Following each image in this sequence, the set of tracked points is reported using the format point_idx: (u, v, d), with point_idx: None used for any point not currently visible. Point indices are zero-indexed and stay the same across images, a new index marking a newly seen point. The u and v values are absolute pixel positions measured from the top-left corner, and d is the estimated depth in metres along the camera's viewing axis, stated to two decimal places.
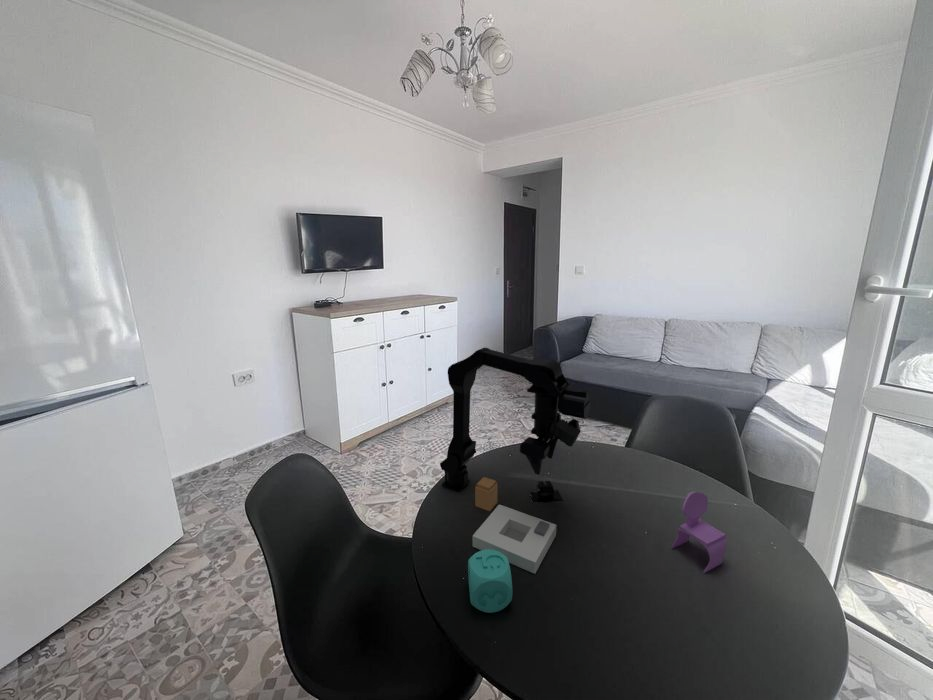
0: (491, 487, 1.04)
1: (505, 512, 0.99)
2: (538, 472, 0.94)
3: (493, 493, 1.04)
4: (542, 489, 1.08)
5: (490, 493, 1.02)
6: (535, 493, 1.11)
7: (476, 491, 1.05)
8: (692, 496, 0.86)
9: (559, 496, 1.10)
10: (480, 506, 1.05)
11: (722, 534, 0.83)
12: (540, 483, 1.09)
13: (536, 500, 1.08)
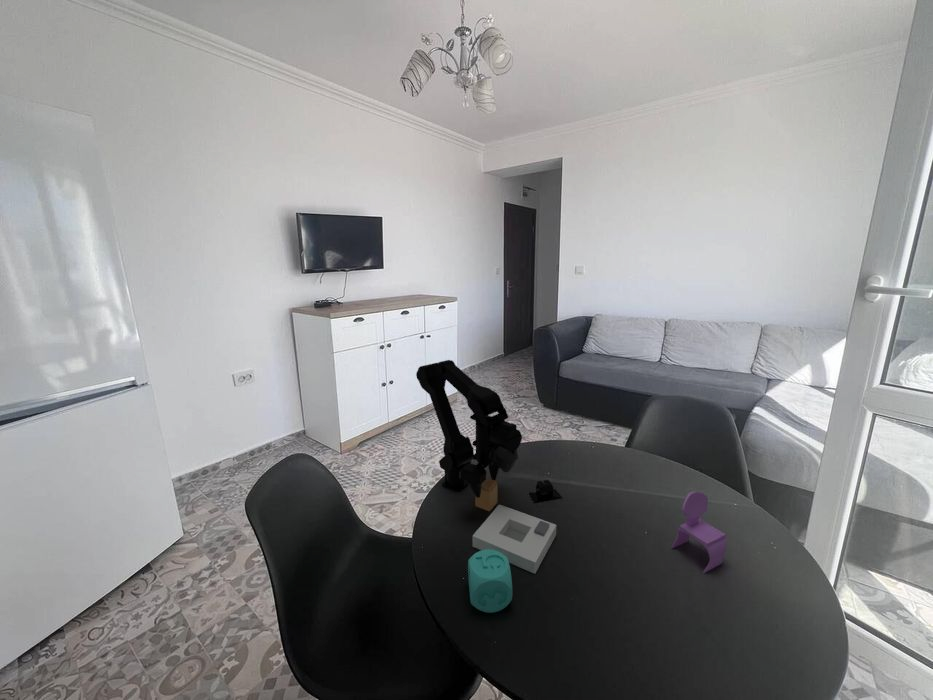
0: (491, 487, 1.04)
1: (505, 512, 0.99)
2: (478, 495, 1.01)
3: (493, 493, 1.04)
4: (542, 489, 1.08)
5: (490, 492, 1.02)
6: (534, 493, 1.11)
7: None
8: (692, 496, 0.86)
9: (557, 494, 1.11)
10: (480, 506, 1.05)
11: (722, 534, 0.83)
12: (539, 483, 1.10)
13: (537, 500, 1.08)
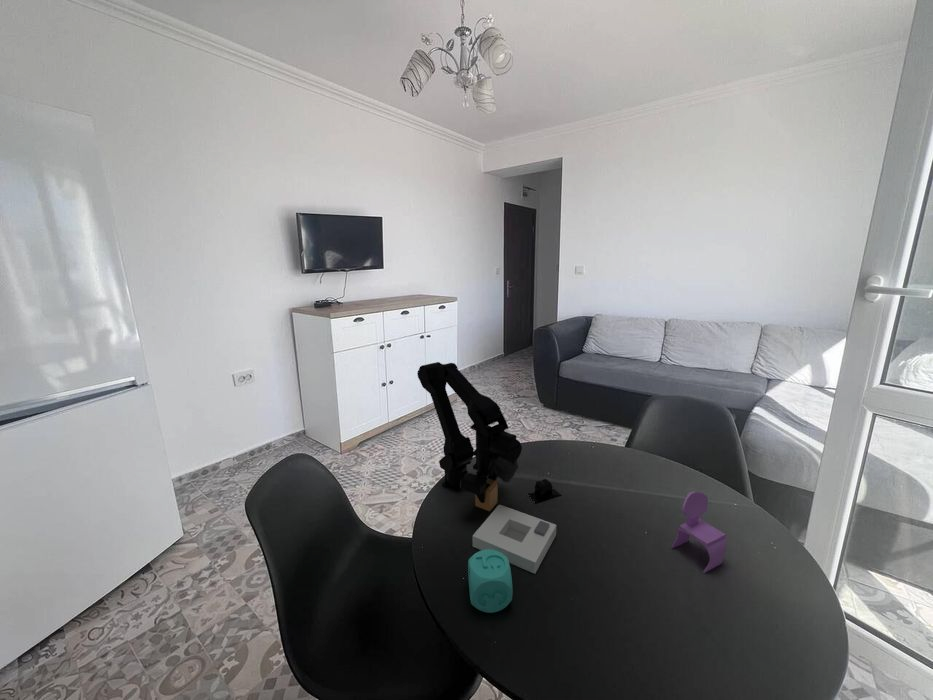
0: (491, 487, 1.04)
1: (505, 512, 0.99)
2: (482, 501, 1.04)
3: (493, 493, 1.04)
4: (542, 488, 1.08)
5: (490, 492, 1.02)
6: (533, 494, 1.11)
7: None
8: (692, 496, 0.86)
9: (555, 492, 1.12)
10: (480, 506, 1.05)
11: (722, 534, 0.83)
12: (538, 483, 1.10)
13: (538, 500, 1.08)
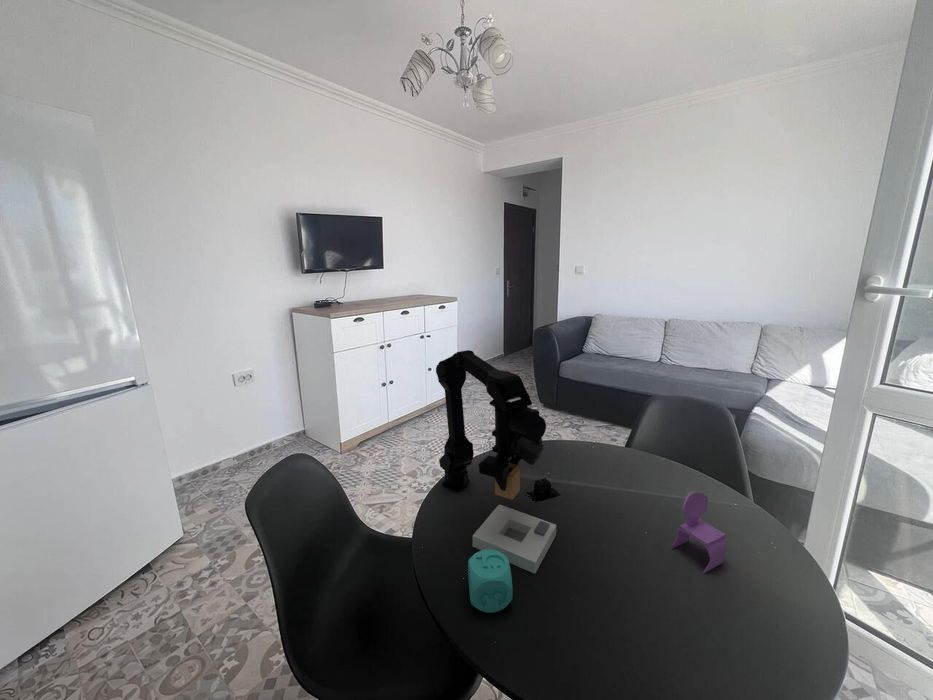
0: (513, 472, 0.91)
1: (505, 512, 0.99)
2: (504, 488, 0.91)
3: (515, 479, 0.92)
4: (541, 487, 1.09)
5: (512, 478, 0.90)
6: (532, 493, 1.11)
7: None
8: (692, 496, 0.86)
9: (555, 491, 1.12)
10: (501, 494, 0.92)
11: (722, 534, 0.83)
12: (537, 482, 1.10)
13: (537, 499, 1.08)
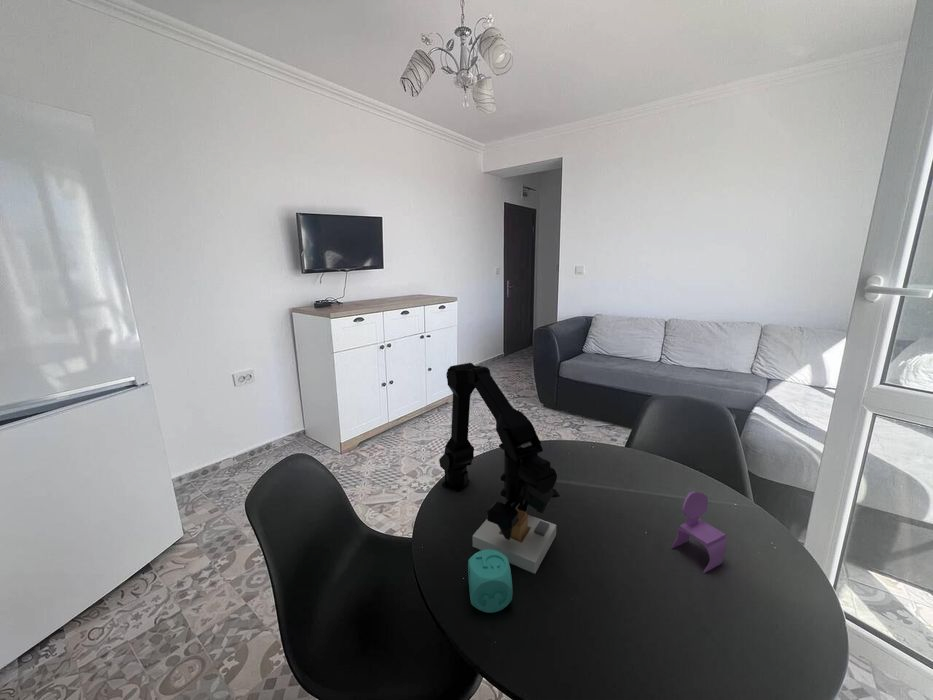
0: (522, 520, 0.89)
1: None
2: (508, 537, 0.88)
3: (523, 527, 0.90)
4: None
5: (520, 527, 0.88)
6: None
7: None
8: (692, 496, 0.86)
9: (555, 492, 1.12)
10: None
11: (722, 534, 0.83)
12: None
13: None
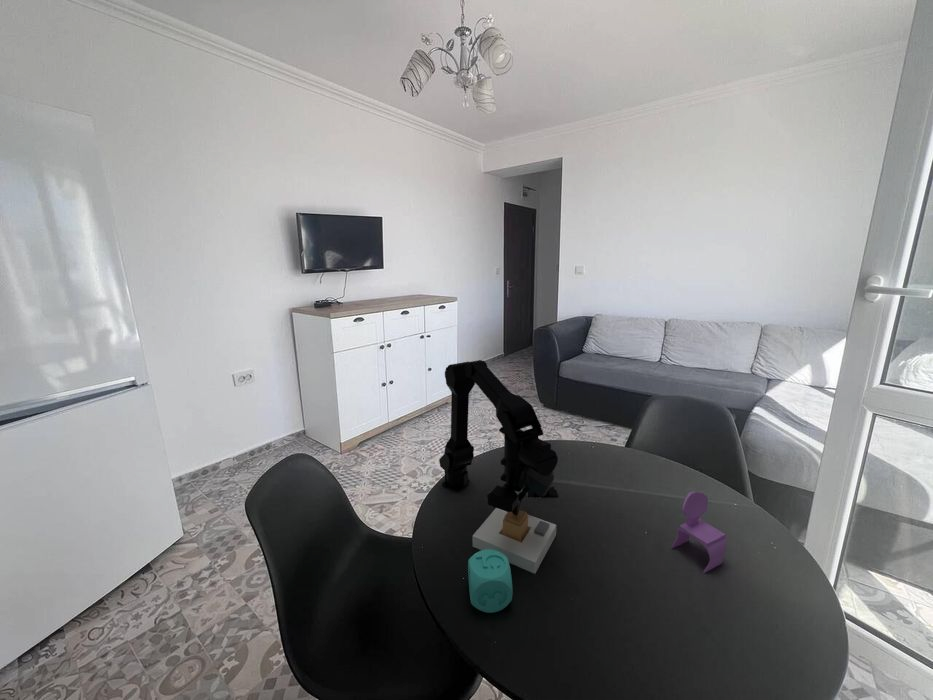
0: (522, 520, 0.89)
1: (505, 512, 0.99)
2: (516, 512, 0.90)
3: (523, 527, 0.90)
4: None
5: (520, 527, 0.88)
6: None
7: (504, 524, 0.90)
8: (692, 496, 0.86)
9: (555, 493, 1.11)
10: None
11: (722, 534, 0.83)
12: None
13: (531, 495, 1.10)
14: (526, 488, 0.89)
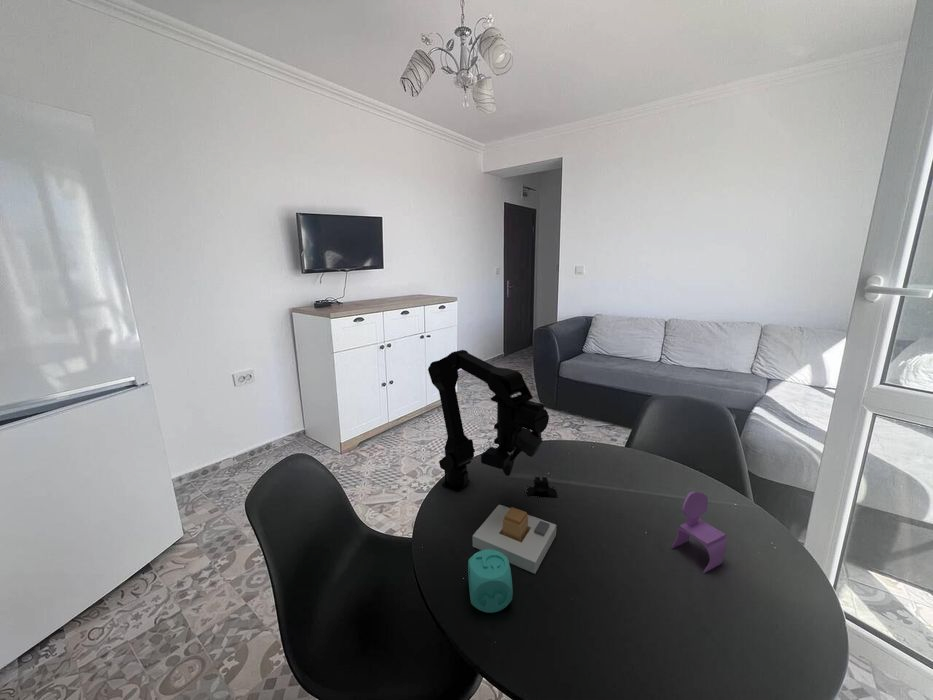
0: (522, 520, 0.89)
1: (505, 512, 0.99)
2: (508, 473, 0.99)
3: (523, 527, 0.90)
4: (537, 484, 1.10)
5: (520, 527, 0.88)
6: (531, 488, 1.13)
7: (504, 524, 0.90)
8: (692, 496, 0.86)
9: (554, 493, 1.11)
10: None
11: (722, 534, 0.83)
12: (536, 478, 1.12)
13: (530, 494, 1.10)
14: (517, 451, 0.98)
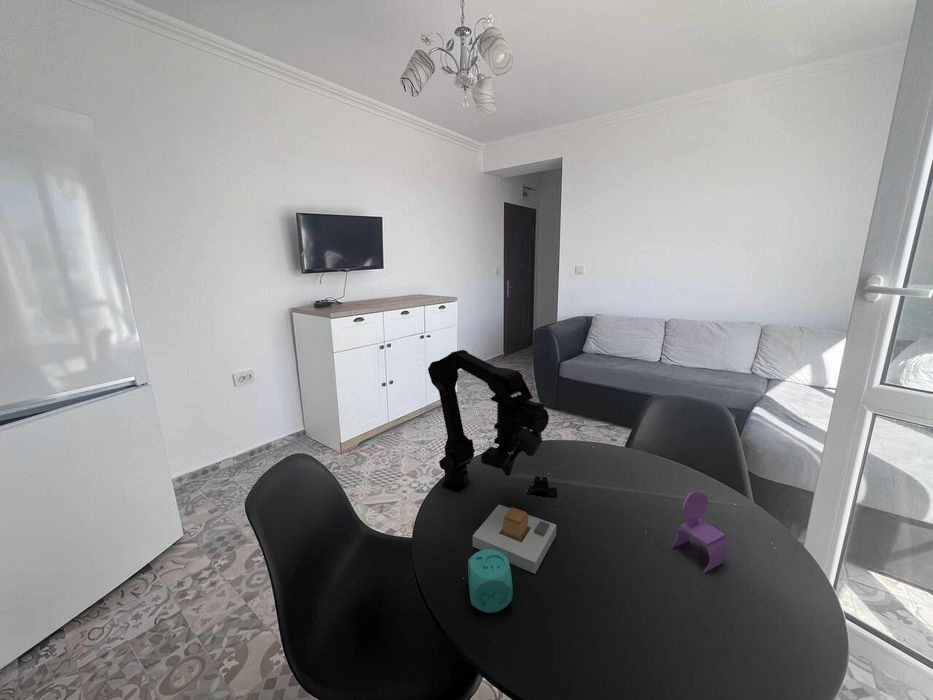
0: (522, 520, 0.89)
1: (505, 512, 0.99)
2: (508, 473, 0.99)
3: (523, 527, 0.90)
4: (536, 483, 1.11)
5: (520, 527, 0.88)
6: (532, 487, 1.14)
7: (504, 524, 0.90)
8: (692, 496, 0.86)
9: (554, 493, 1.11)
10: None
11: (722, 534, 0.83)
12: (536, 478, 1.12)
13: (530, 493, 1.11)
14: (517, 451, 0.98)
